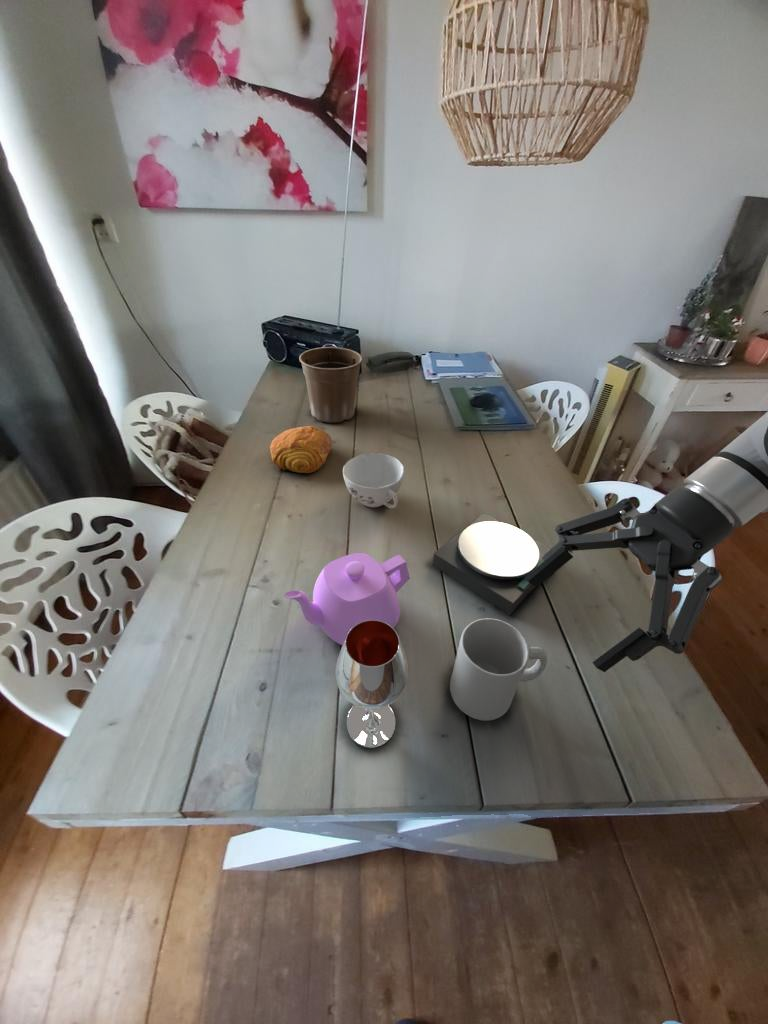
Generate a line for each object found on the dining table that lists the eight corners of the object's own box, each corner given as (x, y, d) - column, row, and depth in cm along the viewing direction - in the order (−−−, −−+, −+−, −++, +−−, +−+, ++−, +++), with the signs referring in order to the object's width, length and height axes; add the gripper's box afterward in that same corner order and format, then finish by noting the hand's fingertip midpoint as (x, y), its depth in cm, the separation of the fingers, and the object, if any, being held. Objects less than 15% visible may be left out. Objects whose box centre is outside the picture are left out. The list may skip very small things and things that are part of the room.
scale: (554, 564, 81) (560, 550, 78) (509, 615, 71) (514, 601, 69) (481, 524, 89) (484, 510, 87) (432, 565, 80) (434, 550, 77)
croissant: (337, 452, 113) (338, 422, 109) (322, 479, 99) (322, 446, 95) (283, 445, 114) (281, 415, 110) (260, 471, 101) (257, 438, 96)
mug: (457, 724, 57) (469, 679, 51) (443, 665, 64) (453, 619, 57) (545, 716, 59) (569, 671, 52) (523, 659, 65) (542, 613, 58)
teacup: (333, 492, 96) (332, 461, 91) (383, 476, 101) (384, 446, 96) (367, 532, 86) (367, 500, 81) (420, 513, 91) (423, 481, 86)
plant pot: (361, 400, 132) (361, 346, 121) (363, 427, 119) (362, 368, 109) (306, 401, 130) (301, 346, 120) (302, 427, 118) (296, 368, 108)
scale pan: (552, 550, 78) (553, 546, 78) (511, 593, 70) (513, 590, 70) (485, 514, 85) (486, 511, 85) (442, 550, 77) (442, 547, 77)
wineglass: (414, 735, 56) (426, 655, 45) (357, 769, 53) (355, 692, 42) (382, 683, 62) (386, 600, 50) (329, 711, 58) (320, 629, 47)
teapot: (278, 610, 71) (268, 562, 64) (386, 568, 79) (388, 521, 72) (309, 678, 62) (302, 630, 55) (427, 622, 70) (434, 575, 63)
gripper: (822, 596, 44) (644, 717, 49) (635, 464, 62) (519, 563, 67) (821, 572, 39) (624, 709, 44) (618, 437, 57) (496, 545, 62)
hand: (561, 621), depth 56 cm, fingers open, 13 cm apart
